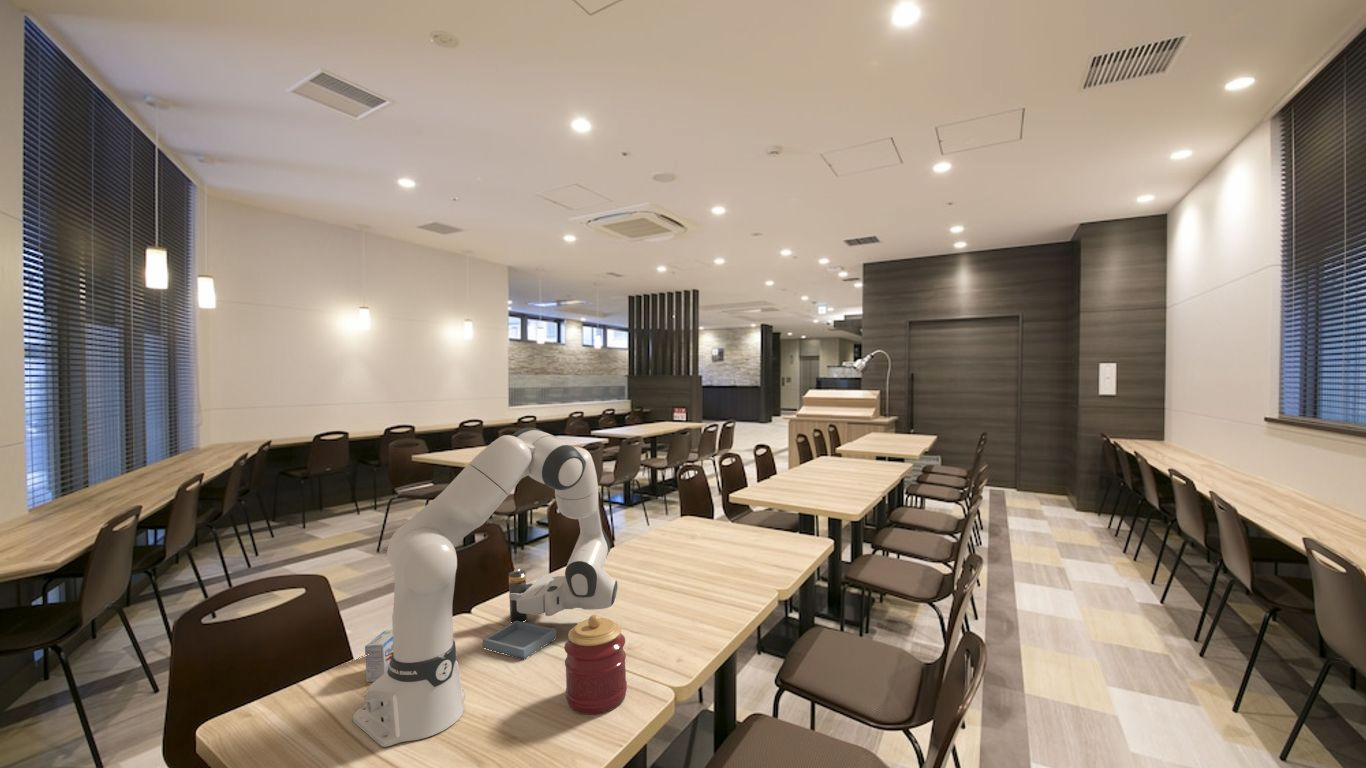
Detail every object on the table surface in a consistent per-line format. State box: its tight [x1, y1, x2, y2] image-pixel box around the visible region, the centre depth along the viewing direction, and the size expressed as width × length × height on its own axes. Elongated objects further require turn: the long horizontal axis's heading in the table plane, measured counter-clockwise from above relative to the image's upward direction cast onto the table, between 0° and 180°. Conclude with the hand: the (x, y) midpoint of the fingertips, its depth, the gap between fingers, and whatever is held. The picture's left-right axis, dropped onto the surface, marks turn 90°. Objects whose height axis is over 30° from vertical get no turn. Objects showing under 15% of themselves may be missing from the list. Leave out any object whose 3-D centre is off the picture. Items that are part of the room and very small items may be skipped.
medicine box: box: [364, 629, 393, 683], centre depth 127 cm, size 8×4×9 cm, turn 179°
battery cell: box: [508, 568, 528, 623], centre depth 153 cm, size 5×5×15 cm
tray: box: [482, 621, 557, 661], centre depth 139 cm, size 14×12×2 cm
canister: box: [563, 614, 628, 715], centre depth 114 cm, size 13×13×18 cm
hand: (514, 591), depth 153 cm, fingers closed on battery cell, 5 cm apart
